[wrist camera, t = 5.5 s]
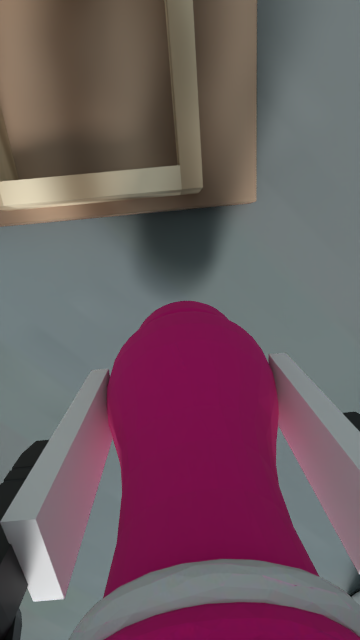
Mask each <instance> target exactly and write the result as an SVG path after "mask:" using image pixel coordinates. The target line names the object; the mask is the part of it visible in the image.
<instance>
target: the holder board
mask: <svg viewBox="0 0 360 640" xmlns="http://www.w3.org/2000/svg"><path fill="white" fill-rule="evenodd" d="M256 138H257V0H0V227H3V226H13V225H24V224H35V223H46V222H56V221H67V220H78V219H89V218H99V217H110V216H121V215H132V214H142V213H153V212H164V211H175V210H185V209H196V208H207V207H218V206H228V205H239V204H250V203H253V202H256Z"/></svg>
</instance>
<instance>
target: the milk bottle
mask: <svg viewBox="0 0 360 640" xmlns="http://www.w3.org/2000/svg"><path fill="white" fill-rule="evenodd" d="M351 598H353V599H354V600H355V601H356V602H357V603H358V604H359V605H360V591H359V592H357V593H356V594H354V595H353V596H352V597H351Z"/></svg>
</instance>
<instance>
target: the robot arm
mask: <svg viewBox="0 0 360 640" xmlns="http://www.w3.org/2000/svg"><path fill="white" fill-rule="evenodd" d="M269 366H270V368H271V370H272V372H273V375H274V379H275V384H276V389H277V396H278V404H279V419H278V426H279V428H280V429H281V431H282V433H283V435H284V437H285V439H286V440H287V442H288V444H289V446H290V448H291V450H292V451H293V453H294V455H295V457H296V459H297V461H298V463H299V464H300V466H301V468H302V470H303V472H304V474H305V475H306V477H307V479H308V481H309V483H310V485H311V486H312V488H313V490H314V492H315V494H316V496H317V498H318V499H319V501H320V503H321V505H322V507H323V509H324V510H325V512H326V514H327V516H328V518H329V520H330V521H331V523H332V525H333V527H334V529H335V531H336V532H337V534H338V536H339V538H340V540H341V542H342V544H343V545H344V547H345V549H346V551H347V553H348V555H349V556H350V558H351V560H352V562H353V564H354V566H355V567H356V569H357V571H358V573H359V574H360V414H359V413H357V412H348V413H342V412H341V411H340V410H339V409H338V408H337V407H336V406H335V405H334V404H333V403H332V402H331V401H330V399H329V398H328V397H327V396H326V395H325V394H324V393H323V392H322V391H321V390H320V389H319V388H318V387H317V386H316V384H315V383H314V382H313V381H312V380H311V379H310V378H309V377H308V376H307V375H306V374H305V373H304V372H303V371H302V370H301V368H300V367H299V366H298V365H297V364H296V363H295V362H294V361H293V360H292V359H291V358H290V357H289V356H288V355H287V354H286V353H277V354H269ZM109 379H110V375H109V370H108V369H99V370H91V372H90V373H89V375H88V377H87V378H86V380H85V382H84V383H83V385H82V387H81V388H80V390H79V392H78V393H77V395H76V397H75V398H74V400H73V402H72V403H71V405H70V407H69V408H68V410H67V412H66V413H65V415H64V417H63V418H62V420H61V422H60V423H59V425H58V427H57V428H56V430H55V432H54V433H53V435H52V437H51V438H50V440H42V441H36V442H35V443H33V444H32V445H31V446H30V447H29V448H28V449H27V450H25V451H24V452H23V453H22V454H21V456H20V457H19V459H18V460H17V462H16V463H15V464H14V466H13V467H12V471H10V472H9V473H8V475H7V476H6V478H5V479H4V482H3V483H1V485H0V640H20V636H21V628H22V618H21V612H20V609H19V606H20V604H21V601H22V599H23V596H24V594H25V592H26V589H27V587H28V590H29V592H30V595H31V597H32V599H33V602H34V601H46V600H58V599H65V595H66V592H67V588H68V585H69V582H70V578H71V575H72V572H73V568H74V565H75V562H76V558H77V555H78V552H79V548H80V545H81V542H82V538H83V535H84V532H85V528H86V525H87V522H88V518H89V515H90V512H91V508H92V505H93V502H94V498H95V495H96V492H97V488H98V485H99V482H100V478H101V475H102V472H103V468H104V465H105V462H106V458H107V455H108V452H109V448H110V445H111V442H112V438H113V437H112V434H111V431H110V427H109V424H108V415H107V386H108V383H109Z"/></svg>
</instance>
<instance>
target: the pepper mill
mask: <svg viewBox="0 0 360 640" xmlns="http://www.w3.org/2000/svg"><path fill="white" fill-rule="evenodd" d="M107 415H108V424H109V427H110V431H111V434H112V437H113V441H114V444H115V447H116V450H117V454H118V457H119V461H120V466H121V477H122V499H121V509H120V518H119V528H118V537H117V544H116V548H115V552H114V556H113V560H112V565H111V569H110V573H109V577H108V581H107V585H106V589H105V593H104V597H103V599H102V600H100V601H99V602H97V603H96V604H95V605H94V606H93V607H92V608H91V609H90V610H89V611H88V612H87V614H86V615H85V616H84V617H83V618H82V620H81V621H80V623H79V624H78V625H77V627H76V628H75V630H74V631H73V633H72V635H71V636H70V638H69V640H360V605H359V604H358V603H357V602H356V601H355V600H354V599H353V598H351V597H350V596H349V595H348V594H347V593H346V592H345V591H344V590H342V589H340V588H339V587H337V586H335V585H334V584H332V583H330V582H328V581H327V580H325V579H323V578H321V577H319V575H318V573H317V571H316V569H315V567H314V565H313V563H312V562H311V560H310V558H309V556H308V554H307V552H306V550H305V548H304V546H303V544H302V542H301V540H300V539H299V537H298V535H297V533H296V531H295V529H294V527H293V524H292V521H291V519H290V516H289V513H288V510H287V507H286V504H285V502H284V499H283V496H282V493H281V490H280V487H279V483H278V476H277V469H276V439H277V429H278V419H279V404H278V396H277V389H276V384H275V379H274V375H273V372H272V370H271V368H270V366H269V364H268V362H267V360H266V358H265V355H264V353H263V351H262V349H261V348H260V347H259V345H258V344H257V343H256V341H255V340H254V339H253V337H252V336H250V335H249V334H248V333H247V332H246V331H245V330H244V329H242V328H241V327H240V326H238V325H237V324H235V323H233V322H231V321H229V320H228V319H227V318H226V317H225V315H223V314H222V313H221V312H219V311H218V310H217V309H215V308H213V307H212V306H209V305H207V304H203V303H199V302H195V301H180V302H174V303H170V304H168V305H165V306H163V307H161V308H159V309H157V310H156V311H154V312H153V313H152V314H151V315H150V316H149V317H148V318H147V319H146V320H145V321H144V322H143V324H142V325H141V327H140V328H139V330H138V331H137V332H136V333H134V334H133V335H132V336H131V337H130V338H129V339H128V341H127V342H126V343H125V344H124V345H123V347H122V348H121V350H120V352H119V354H118V356H117V358H116V359H115V362H114V366H113V369H112V372H111V376H110V379H109V383H108V386H107Z"/></svg>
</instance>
